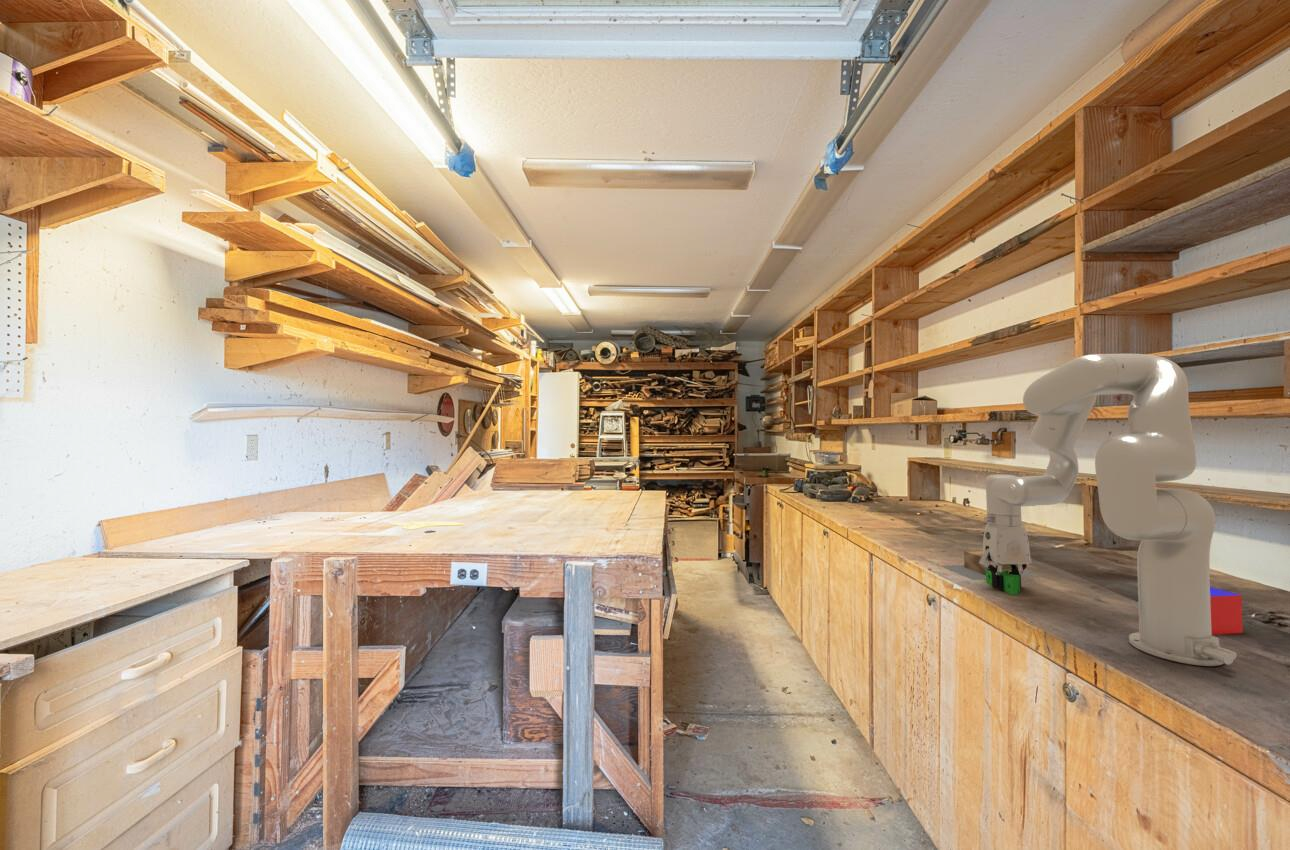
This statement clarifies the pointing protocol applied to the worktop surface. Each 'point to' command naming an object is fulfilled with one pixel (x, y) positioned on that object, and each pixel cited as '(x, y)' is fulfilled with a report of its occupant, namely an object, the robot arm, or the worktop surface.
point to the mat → (976, 575)
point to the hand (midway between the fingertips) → (1006, 587)
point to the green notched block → (1007, 582)
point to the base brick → (973, 562)
